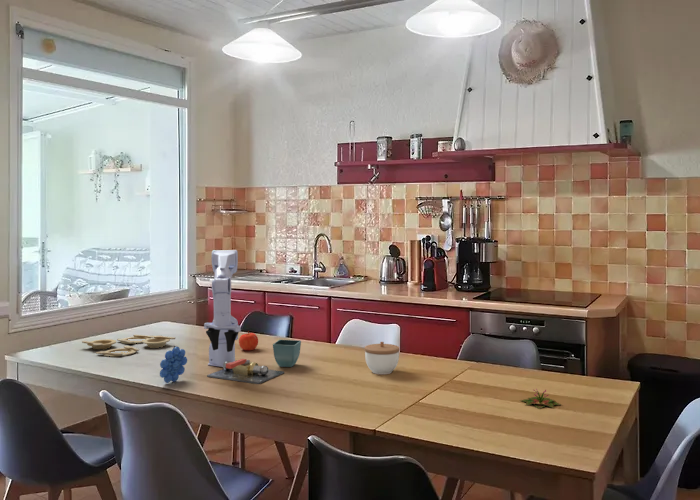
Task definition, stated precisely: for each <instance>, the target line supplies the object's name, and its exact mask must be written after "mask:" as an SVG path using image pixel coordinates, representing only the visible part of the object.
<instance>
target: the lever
mask: <svg viewBox="0 0 700 500" xmlns="http://www.w3.org/2000/svg"><path fill="white" fill-rule="evenodd" d="M250 362H251V361H250V359H247V358H240V359H238V360H235V361H234V362H232V363H227V364H226V368H230V369H232V368H234V367H236V366H238V365H241V364H243V365H247V364H250Z"/></svg>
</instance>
